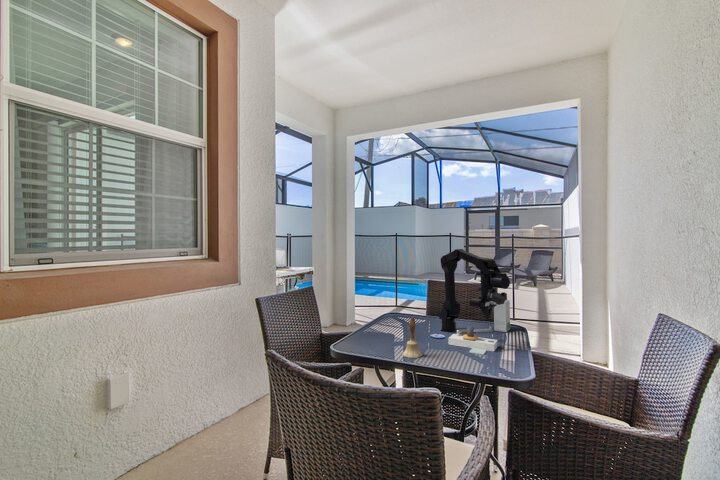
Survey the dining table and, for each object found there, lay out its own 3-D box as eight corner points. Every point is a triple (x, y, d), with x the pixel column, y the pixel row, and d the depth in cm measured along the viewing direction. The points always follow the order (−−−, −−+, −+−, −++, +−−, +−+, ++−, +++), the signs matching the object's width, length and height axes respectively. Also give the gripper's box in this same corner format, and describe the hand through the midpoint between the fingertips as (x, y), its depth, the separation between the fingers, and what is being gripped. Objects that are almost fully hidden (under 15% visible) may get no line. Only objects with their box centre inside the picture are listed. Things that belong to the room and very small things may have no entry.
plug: (461, 346, 159) (461, 328, 159) (465, 342, 165) (465, 325, 164) (475, 348, 156) (475, 330, 156) (479, 344, 161) (479, 327, 161)
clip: (457, 332, 164) (457, 328, 164) (455, 331, 166) (455, 327, 166) (492, 331, 166) (492, 327, 166) (490, 330, 168) (490, 326, 168)
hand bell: (405, 350, 154) (405, 314, 153) (424, 353, 150) (423, 316, 150) (400, 356, 146) (399, 318, 146) (419, 359, 143) (419, 320, 142)
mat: (469, 352, 150) (469, 351, 150) (472, 348, 155) (472, 347, 155) (483, 355, 147) (483, 354, 147) (486, 350, 152) (486, 349, 152)
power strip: (448, 344, 162) (448, 335, 162) (453, 340, 168) (453, 331, 168) (494, 351, 151) (494, 341, 151) (497, 346, 158) (497, 337, 158)
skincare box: (506, 332, 180) (506, 302, 180) (493, 330, 184) (492, 300, 184) (510, 329, 186) (510, 299, 186) (497, 327, 190) (497, 298, 190)
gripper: (489, 290, 150) (490, 326, 150) (514, 286, 160) (514, 320, 161) (468, 287, 159) (468, 321, 159) (493, 283, 169) (493, 315, 170)
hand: (487, 319), depth 162 cm, fingers closed
